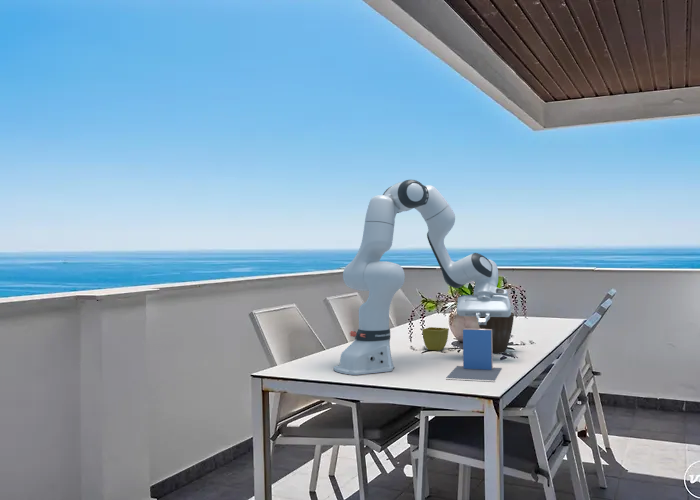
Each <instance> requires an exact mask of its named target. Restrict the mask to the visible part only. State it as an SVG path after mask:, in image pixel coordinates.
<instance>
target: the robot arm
mask: <svg viewBox="0 0 700 500" xmlns="http://www.w3.org/2000/svg"><path fill="white" fill-rule="evenodd" d="M413 209H414V210H416V211H417V212H419V214H420V215H421V217H422V218H423V220H424V222H425V223H426V225H427V230H428V231H427V233H426V238H427V241H428V243H429V246H430V248H431V251H432V252H433V255H434V256H435V259H436V262H437V263H438V266H439V268H440V270H441V273H442V277H443V279H444V281H445V283H446V284H447V285H448V286H450V287H452V288H454V289H459V288H462V287H463V286H465V285H466V284H469V283H471V282H472V281H473V282H474V283H475V285H474V288H473V294H462V295H461V296H458V298H457V299H456V300H457V301H456V302H457V305H456V314H457V315H458V316H459V317H475V318H476V320H477V323H478V324H477V325H478V326H479V325H486V323H487V321H488V320H489V319H490V317H509V316H510V315H511V313H512V310H511V308H512V307H511V301H510V297H509V292H508V290H507V289H504V288H499V287H497V286H498V283H499V269H498V265H497V263H496V262H495V261H494V260H492V259H490V258H489V259H488V258H487V257H486V256H484V255H482V254H481V253H479V252H473V253H471V254H469V255H467V256H465V257H462V258H460V259H458V260H456V261H454V260H452V258H451V256H450V254H449V251H448V250H447V248H446V245H445V238H446V236H447V235H448V234H449V232H450V231H451V230H452V229H453V227H454V225H455V222H456V215H455V212H454V210H453V208H452V207H451V205H450V204H449V203H448V201H447V200H446V198H445V197H444V195H443V194H442V193H441V192H440V191H439V190H438V189H437V188H436V187H435V186H434V185H430V184H427V185H424V184H422V183H421V182H420V181H418V180H417V179H406V180H404V181H398V182H397V183H395V184H393V185H392V186H390V187H388V188H387V189H385V190H384V192H383V194H378V195H374V196H372V197H371V199H370V200H369V202H368V205H367V209H366V214H365V219H364V225H363V234H362V239H361V243H360V246H359V249H358V251H357V252H356V255H355V256H354V258H353V259H352V260H351V261H350V262H349V263H348V264H347V265H345V267H344V269H343V272H342V280H343V283H344V284H345V286H346V287H347V288H350V289H352V290H356V291H361V292H362V291H363V292H364V291H365V292H368V297H367V299H366V301H365V302H363V303H362V304H361V305H360V306H359V308H358V329H357V332H356V331H354V330H350V332H349V335H350V337H354V339H355V340H353V342H352V343H351V344H349V345H348V347H346V348H345V349H344V350H343V351H342V352H341V354H340V358H339V365H335V366H333V371H335V372H337V373H341V374H343V375H344V374H346V375H351V376H353V375H354V376H358V375H369V374H374V373H375V374H376V373H377V374H378V373H386V372H387V373H389V372H392V371H393V369H394V368H395V365H394V361H393V357H392V352H391V344H390V343H391V342H390V340H391V329H390V310H391V309H390V307H391V304H392V301H393V299H394V296H395V295H396V293H397V292H398V291H399V290H400V289H401V288H402V287H403V285H404V283H405V280H406V275H405V271H404V268H403V267H402V266H401V265H400V264H398V263H395V262H392V261H381V259H382V256H383V255H384V254H385V253H386V252H387V251H389V250H390V249H391V248H392V246H393V241H394V240H393V239H394V231H395V221H396V220H395V219H396V216H397V214H400V213H403V212H409V211H410V210H413ZM480 317H485V319H480Z"/></svg>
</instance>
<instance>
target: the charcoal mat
mask: <svg viewBox="0 0 700 500" xmlns="http://www.w3.org/2000/svg"><path fill="white" fill-rule="evenodd" d="M502 369H503V368H502V367H493V369H492V370H483V369H463V365H456V366H455V368H453V370H452V371H451V372H450V373H449V374H448V375H447V376H446V378H445V380H446V381H457V380H461V381H464V382H465V381H466V382H467V381H468V382H475V381H479V382H480V383H481V382H482V383H483V382H484V383H494V382H496V380H497V378H498V377H499V374H500V372H501V371H502Z"/></svg>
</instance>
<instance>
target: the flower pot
mask: <svg viewBox="0 0 700 500" xmlns="http://www.w3.org/2000/svg"><path fill="white" fill-rule="evenodd" d="M422 336H423V337H422V338H423V342H424V345H425V347H426V349H427V350H428V351H437V352H439V351H442V350H444V348H445V347H446V345H447V342H448V339H449V328H447V327H432V326H431V327H430V326H429V327H426V328H423V329H422Z"/></svg>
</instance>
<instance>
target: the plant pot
mask: <svg viewBox="0 0 700 500" xmlns="http://www.w3.org/2000/svg"><path fill="white" fill-rule="evenodd" d="M514 317H515V313H514V312H511V315H510V316H509V317H490V319H489V320H488V321H487V323H486V325H478V326H479V329H492V352H493V354H503V353H506V352H507V349H508V346H509V343H510V339H511V334H512V329H513V325H514ZM480 319H485V317H480Z"/></svg>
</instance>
